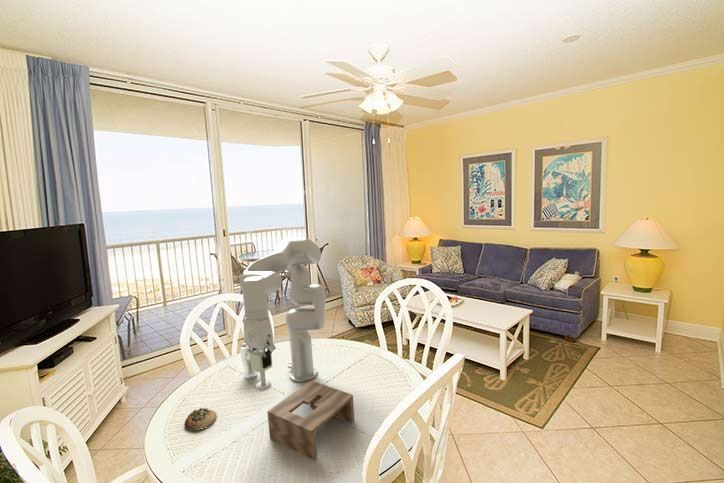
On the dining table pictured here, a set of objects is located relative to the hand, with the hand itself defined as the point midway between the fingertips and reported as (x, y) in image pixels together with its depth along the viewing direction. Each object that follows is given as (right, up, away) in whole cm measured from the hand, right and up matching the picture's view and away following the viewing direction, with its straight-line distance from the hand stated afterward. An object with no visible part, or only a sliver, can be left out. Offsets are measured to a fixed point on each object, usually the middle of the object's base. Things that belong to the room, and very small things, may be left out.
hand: (261, 363), depth 117 cm
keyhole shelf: (+17, -24, +3) cm, 30 cm away
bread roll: (-26, -26, +11) cm, 38 cm away
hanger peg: (0, -8, +1) cm, 9 cm away
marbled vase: (-18, -21, +43) cm, 51 cm away
